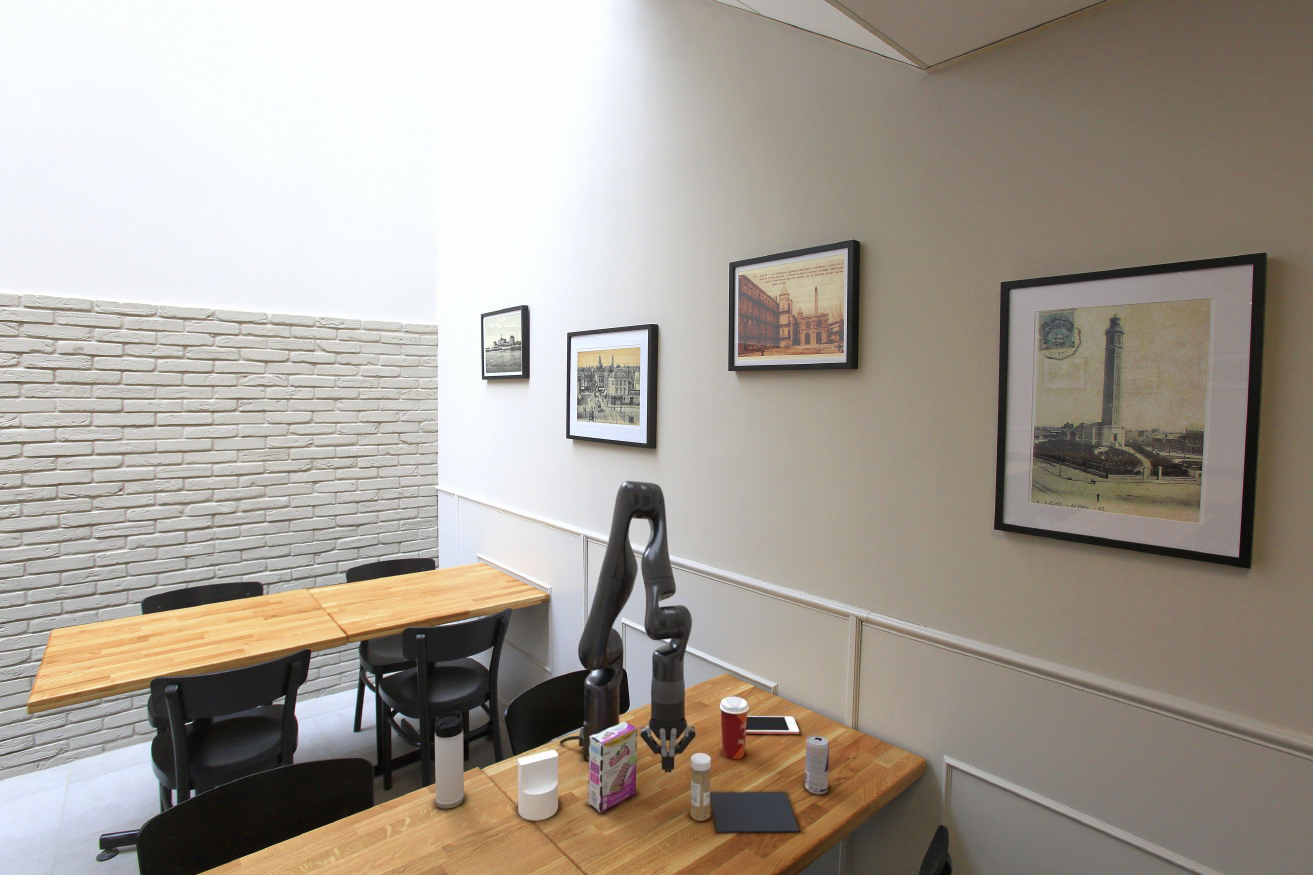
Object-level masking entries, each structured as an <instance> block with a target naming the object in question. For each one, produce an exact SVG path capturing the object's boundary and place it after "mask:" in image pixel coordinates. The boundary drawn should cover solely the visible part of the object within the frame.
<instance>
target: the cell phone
mask: <svg viewBox="0 0 1313 875" xmlns="http://www.w3.org/2000/svg"><path fill="white" fill-rule="evenodd" d="M748 734H752V735H755V734H756V735H757V734H761V735H766V734H767V735H799V734H800V729H799V727H798V724H797V722H796V720H795V717H794V716H784V715H747V723H746V735H748Z"/></svg>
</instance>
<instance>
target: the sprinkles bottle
mask: <svg viewBox="0 0 1313 875" xmlns="http://www.w3.org/2000/svg"><path fill="white" fill-rule="evenodd" d="M711 766H712V758H711V756H710V755H708V754H707V753H703V752H697V753H694V754H692V755H691V757H690V768H691V769H690V770H691V771H690V773H691V774H690V806H691V808H690V809H691V810H690V816H691V818H692V819H694V820H695V821H699V822H702V821H707V820H709V819H710V817H711V796H710V793H711Z"/></svg>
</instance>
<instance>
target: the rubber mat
mask: <svg viewBox="0 0 1313 875" xmlns="http://www.w3.org/2000/svg"><path fill="white" fill-rule="evenodd" d="M710 803H711V808H712V814H713V821H714V826H715V832H716V833H717V834H719V833H720V834H722V833H723V834H729V833H730V834H731V833H733V834H735V833H737V834H738V833H739V834H740V833H745V834H746V833H747V834H748V833H749V834H750V833H800V829H799V826H798V823H797V821H796V818H795V815H794V812H793V810H792V806H791V804H790V801H789V798H788V796H787V793H786V791H765V792H764V791H763V792H762V791H761V792H759V791H757V792H755V791H752V792H751V791H750V792H749V791H747V792H745V791H744V792H741V791H739V792H736V791H735V792H731V791H729V792H728V791H727V792H726V791H725V792H710Z"/></svg>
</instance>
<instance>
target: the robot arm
mask: <svg viewBox="0 0 1313 875" xmlns="http://www.w3.org/2000/svg"><path fill="white" fill-rule="evenodd" d="M612 512H613V513H612V519H611V526H610V532H609V536H608V541H607V545H606V549H605V554H604V556H603V560H602V564H601V567H600V571H599V575H598V579H597V584H596V588H595V593H594V596H593V599H592V604H591V608H590V611H589V615H588V617H587V620H586V622H585V626H584V629H583V631H582V633H581V636H580V639H579V642H578V648H577V649H578V650H577V654H578V660H579V663H580V664H581V666H582V667H583V668H584V669H586V670H587V671H590V672H589V674H587V676H586V678H585V679H584V682H583V687H584V688H583V691H584V692H583V703H584V704H583V706H584V707H583V710H584V711H583V712H584V713H583V716H584V718H583V719H584V720H583V723H582V724H583V725H582V726H583V727H580V730H579V735H571V736H567V737H564V738H563V739H561V740H559V744H560V745H563V744H564V743H565V742H569V741H574V740H578V747H579V748H580V747H581V748H582V749H583V750H582V751H583V752H582V753H583V754H582V755H583V761H584V760H585V761H589V736H592V735H594V734H596V733H599V732H601V731H603V730H606V729H608V728H610V727H613V726H615V725H617V724H620V685H621V682H622V679H623V673H624V672H623V670H624V642H623V638H622V636H621V635H620V632H618V630H617V629H615V628H614V624H615V622H616V621H617V618H618V617H619V615H620V614H621V613H622V611H623V609H624V608H625V606H626V604H627V603H628V601H629V599H630V597H631V596H632V593H633V590H634V587H635V585H636V584H635V583H636V579H637V576H638V572H639V571H638V569H639V567H638V566H639V565H638V561H637V557H636V554H635V552H634V550H633V547H632V545H631V540H630V526H631V522H632V520H633V519H636V520H647V522H648V524H649V536H648V541H647V544H646V546H645V548H644V551H643V553H642V557H641V561H640V562H641V564H640V566H641V567H640V569H641V576H642V580H643V586H644V590H645V613H644V624H643V625H644V626H643V627H644V631H645V633H646V635H647V636H648V638H649V639H650V640H653V641H664V640H669V642H667V643H666V644H664V645H661V646H659V647H657V648H656V649H654V650H653V652H652V657H651V658H652V659H651V660H652V663H651V664H652V666H651V667H652V668H651V670H652V675H651V676H652V677H651V685H650V706H651V707H650V719H649V720H648V725H646V726H645V727H644V726H642V727H641V728H640V734H639V735H640V738H641V739H642V740H643V741H644V743H645V744H646V745H647V746H648V748H649V749H650V750H651V751H652V753H653V754H654V755H660V756H661V769H662V770H663V771H664V773H672V770H673V771H674V769H675V756H676V755H681V754H683V752H684V751H685V750H686V749H687V747H688V746H689V745H690V744H691V743H692V741H693V740H694V739H695V738H696V736H697V734H696V728H695V727H694V726H690V725H688V721H687V719H686V712H685V711H686V684H685V676H684V675H685V673H684V671H685V666H684V665H685V655H686V650H687V648H688V647H687V646H688V642H689V639H690V636H691V632H692V626H693V618H692V613H691V611H690V610H689V608H688V607H686V606H685V605H683V604H676V605H667V606H660V603H659V602H662V601H665V600H668V599H670V598H672V597H673V596H675V594H676V592H677V585H676V581H675V577H674V573H673V567H672V563H671V558H670V552H669V543H668V526H667V524H668V523H667V513H666V512H667V511H666V502H665V496H664V493H663V490H662V487H661V486H660V484H657V483H654V482H647V481H637V480H625V481H622V483H621V484H620V485H619V487H618V490H617V493H616V496H615V502H614V507H613V511H612ZM652 733H653V734H654V736H655V737H656V739H657V740H659V742H660V744H659V743H658V742H657V741H656V739H655V738H654V737H653V736H652ZM682 734H684V735H683V736H682ZM681 736H682V737H681ZM680 737H681V739H680V740H679V741H678V739H679V738H680ZM677 741H678V742H677ZM667 742H668V746H667ZM676 742H677V744H676Z"/></svg>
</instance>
